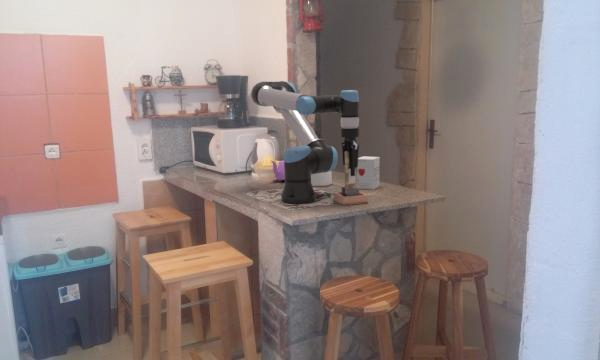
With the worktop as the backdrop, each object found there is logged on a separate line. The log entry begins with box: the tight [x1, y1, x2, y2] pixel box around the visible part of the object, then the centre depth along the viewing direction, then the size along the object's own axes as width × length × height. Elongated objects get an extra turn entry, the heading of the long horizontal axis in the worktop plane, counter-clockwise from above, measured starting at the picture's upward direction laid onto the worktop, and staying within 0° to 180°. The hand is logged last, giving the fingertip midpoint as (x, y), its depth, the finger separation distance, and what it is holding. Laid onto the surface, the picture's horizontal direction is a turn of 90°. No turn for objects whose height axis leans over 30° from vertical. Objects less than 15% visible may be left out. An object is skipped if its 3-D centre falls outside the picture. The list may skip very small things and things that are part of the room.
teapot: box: [270, 160, 285, 182], centre depth 260 cm, size 20×14×12 cm
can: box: [311, 171, 333, 187], centre depth 247 cm, size 12×12×20 cm
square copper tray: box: [333, 186, 369, 206], centre depth 207 cm, size 11×11×6 cm
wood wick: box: [344, 151, 357, 193], centre depth 205 cm, size 4×2×18 cm, turn 107°
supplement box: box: [356, 155, 381, 191], centre depth 236 cm, size 9×9×15 cm
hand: (350, 182), depth 206 cm, fingers closed on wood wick, 2 cm apart
